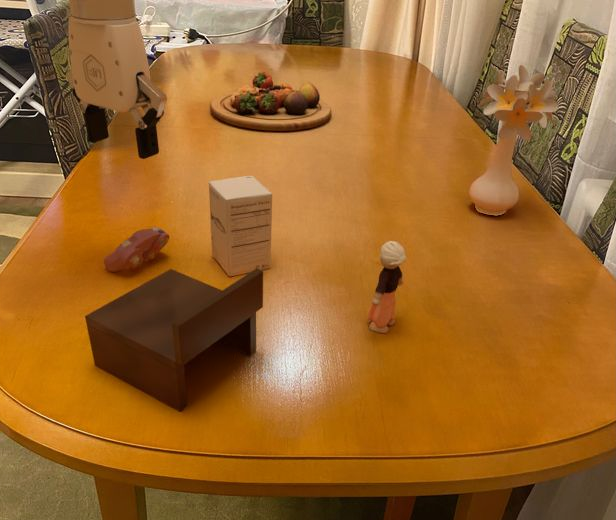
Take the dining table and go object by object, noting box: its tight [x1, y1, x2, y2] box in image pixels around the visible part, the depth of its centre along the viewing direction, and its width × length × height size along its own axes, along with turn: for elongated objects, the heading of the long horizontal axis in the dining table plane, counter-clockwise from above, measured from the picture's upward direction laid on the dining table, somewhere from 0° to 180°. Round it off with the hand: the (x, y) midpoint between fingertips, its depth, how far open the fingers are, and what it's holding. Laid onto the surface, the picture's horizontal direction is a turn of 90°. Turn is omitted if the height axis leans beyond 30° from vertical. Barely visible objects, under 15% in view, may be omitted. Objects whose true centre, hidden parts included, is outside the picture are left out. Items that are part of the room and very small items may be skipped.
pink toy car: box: [103, 225, 170, 273], centre depth 92 cm, size 10×5×7 cm, turn 148°
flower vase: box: [468, 64, 559, 214], centre depth 109 cm, size 13×18×25 cm
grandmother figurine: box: [367, 240, 407, 334], centre depth 80 cm, size 8×4×13 cm, turn 159°
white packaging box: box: [208, 175, 273, 277], centre depth 92 cm, size 7×7×13 cm
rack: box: [84, 268, 264, 412], centre depth 72 cm, size 15×14×12 cm
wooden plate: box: [209, 71, 332, 132], centre depth 158 cm, size 32×32×8 cm
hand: (123, 147), depth 83 cm, fingers open, 9 cm apart
